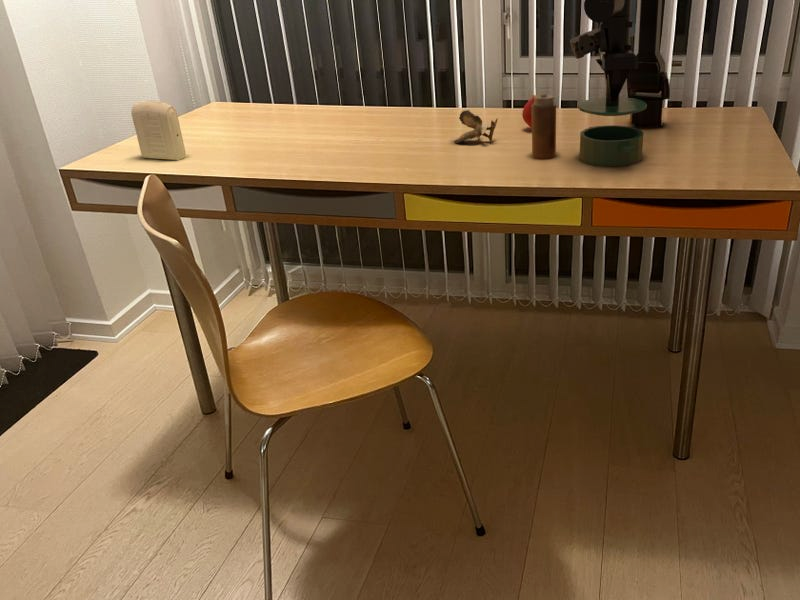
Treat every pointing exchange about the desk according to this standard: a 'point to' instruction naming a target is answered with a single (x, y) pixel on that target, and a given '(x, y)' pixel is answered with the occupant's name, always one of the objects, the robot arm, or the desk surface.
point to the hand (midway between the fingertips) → (612, 99)
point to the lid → (612, 105)
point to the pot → (611, 145)
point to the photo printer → (158, 130)
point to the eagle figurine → (475, 127)
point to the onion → (528, 111)
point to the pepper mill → (543, 127)
